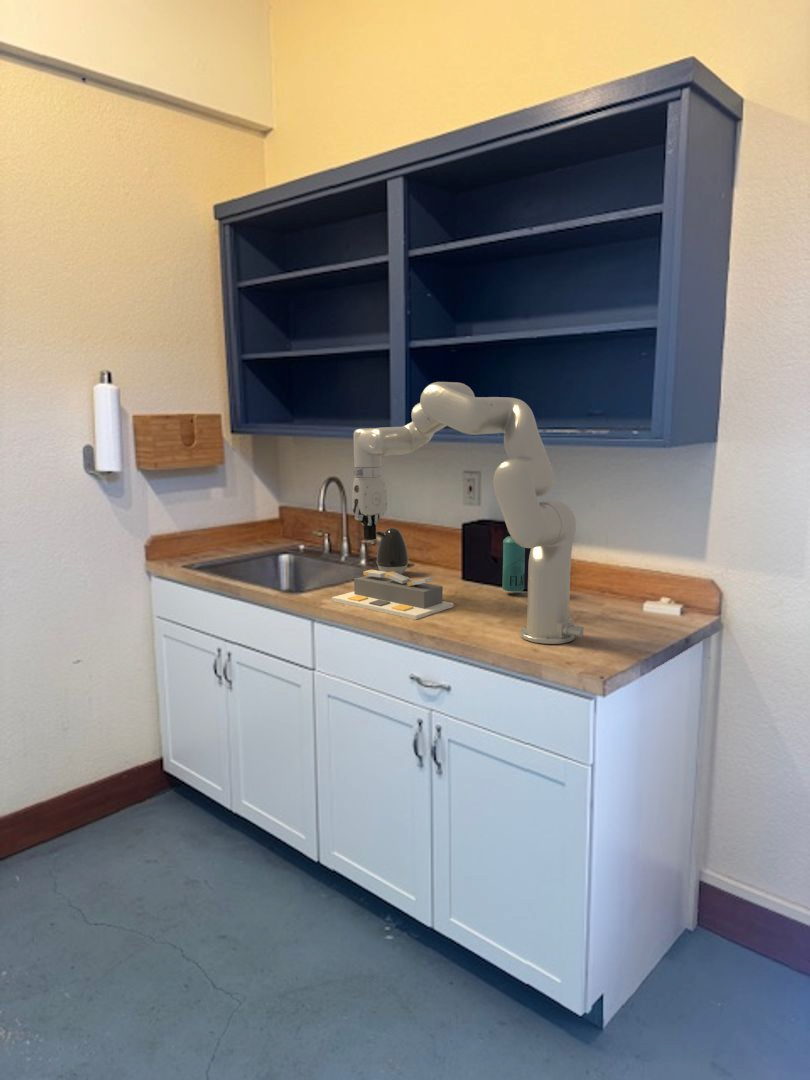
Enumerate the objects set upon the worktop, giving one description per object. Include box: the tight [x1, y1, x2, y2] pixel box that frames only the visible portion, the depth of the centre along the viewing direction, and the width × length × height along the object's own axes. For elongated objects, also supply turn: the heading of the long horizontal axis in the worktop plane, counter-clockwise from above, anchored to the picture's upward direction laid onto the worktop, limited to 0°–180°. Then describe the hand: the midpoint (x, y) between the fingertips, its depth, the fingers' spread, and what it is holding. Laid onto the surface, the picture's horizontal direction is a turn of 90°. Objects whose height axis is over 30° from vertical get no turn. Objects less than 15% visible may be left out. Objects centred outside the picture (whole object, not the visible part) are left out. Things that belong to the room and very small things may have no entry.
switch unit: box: [331, 575, 454, 620], centre depth 206 cm, size 30×16×6 cm, turn 50°
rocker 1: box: [362, 569, 388, 578], centre depth 212 cm, size 6×3×1 cm, turn 50°
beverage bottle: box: [501, 529, 527, 593], centre depth 215 cm, size 6×7×20 cm
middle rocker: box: [385, 571, 411, 584], centre depth 207 cm, size 6×3×1 cm, turn 50°
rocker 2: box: [407, 576, 434, 586], centre depth 202 cm, size 6×3×1 cm, turn 50°
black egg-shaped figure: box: [376, 527, 409, 575], centre depth 241 cm, size 10×10×15 cm
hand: (370, 538), depth 212 cm, fingers closed
